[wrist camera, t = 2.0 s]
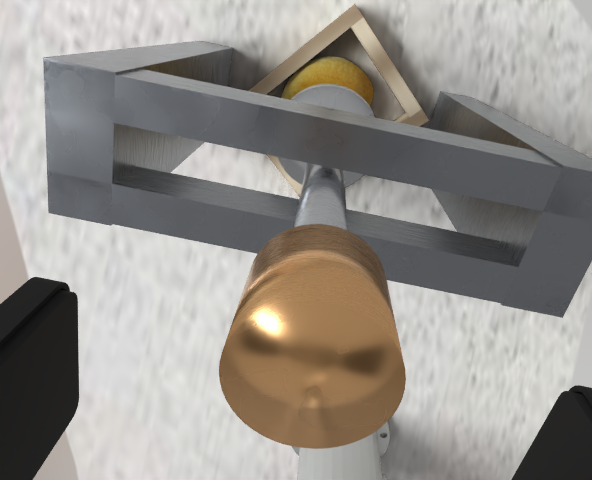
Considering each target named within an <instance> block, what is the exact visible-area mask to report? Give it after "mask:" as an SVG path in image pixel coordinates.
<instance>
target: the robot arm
mask: <svg viewBox="0 0 592 480" xmlns="http://www.w3.org/2000/svg"><path fill="white" fill-rule="evenodd" d="M78 402H79V367H78V300H77V295H76V293H74V292H70V289H69V286H68V284H66V283H64V282H59V281H54V280H49V279H44V278H39V277H33V278H31V279H30V280H28V281H27V282H26V283H25V284H23V286H21V287H20V288H19V289H18V290H16V291H15V292H14V293H13V294H12V295H11V296H9V297H8V298H7V299H6V300H5V301H4V302H2V303H1V304H0V480H33V478H34V477H35V475H36V473H37V472H38V470H39V469H40V467H41V466H42V464H43V463H44V461H45V460H46V458H47V457H48V455H49V454H50V452H51V451H52V449H53V447H54V446H55V444H56V443H57V441H58V440H59V438H60V437H61V435H62V434H63V432H64V431H65V429H66V428H67V426H68V425H69V423H70V421H71V420H72V418H73V416H74V414H75V412H76V409H77V406H78ZM389 441H390V430H389V425H388V421H387V422H386V423H385V424H384V425H383V426H382V427H381V428H380V429H378V430H377V431H375V432H374V433H372V434H371V435H369V436H367V437H365V438H363V439H361V440H359V441H356V442H354V443H351V444H348V445H344V446H339V447H333V448H323V449H311V448H300V447H294V446H292V448H293V449H294V451H295V452H296V454H297V455H298V456H299V463H298V475H297V480H388V479H387V478H386V477H385V476H384V475H383V474H382V471H381V462H380V458H381V457H382V456H383V454H384V453H385V451H386V450H387V448H388V445H389ZM512 480H592V388H589V387H584V386H574V387H572V388H571V389H570V390H569V391H564V392H563V393H561V395H560V396H559V397H558V399H557V401H556V403H555V404H554V406H553V408H552V410H551V411H550V413H549V415H548V417H547V418H546V420H545V422H544V424H543V425H542V427H541V429H540V431H539V432H538V434H537V436H536V438H535V439H534V441H533V443H532V445H531V446H530V448H529V450H528V452H527V453H526V455H525V457H524V459H523V460H522V462H521V464H520V466H519V468H518V469H517V471H516V473H515V475H514V476H513V478H512Z"/></svg>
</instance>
